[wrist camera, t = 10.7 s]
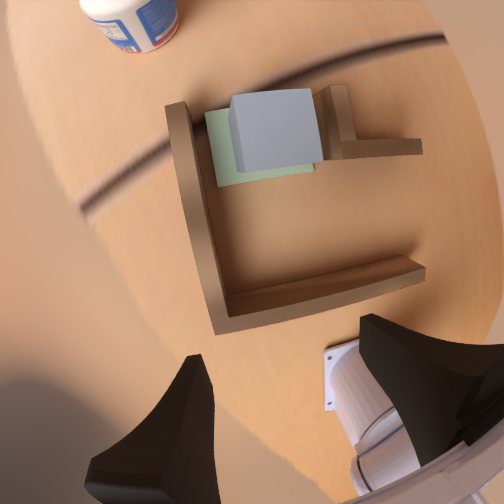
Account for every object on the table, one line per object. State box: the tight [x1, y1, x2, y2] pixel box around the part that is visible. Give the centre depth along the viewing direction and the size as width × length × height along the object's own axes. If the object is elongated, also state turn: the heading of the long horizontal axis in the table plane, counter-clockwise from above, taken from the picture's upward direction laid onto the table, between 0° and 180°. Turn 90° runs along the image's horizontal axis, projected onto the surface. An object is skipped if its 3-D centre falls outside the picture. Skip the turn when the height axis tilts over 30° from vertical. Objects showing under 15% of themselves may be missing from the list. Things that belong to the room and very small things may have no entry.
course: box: [165, 85, 425, 336], centre depth 18 cm, size 15×17×4 cm
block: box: [228, 88, 324, 173], centre depth 15 cm, size 4×4×6 cm
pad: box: [204, 108, 314, 188], centre depth 18 cm, size 6×7×1 cm
